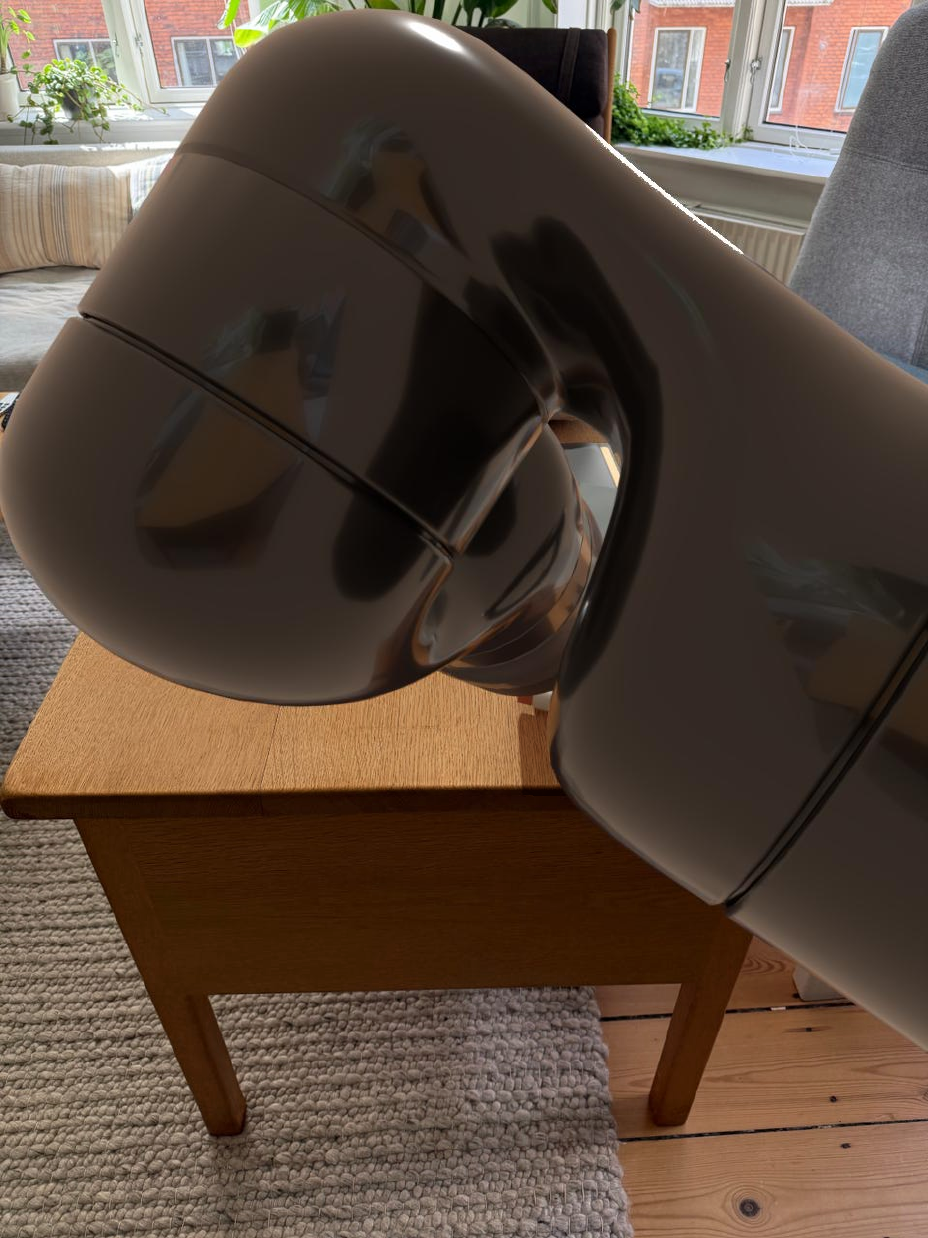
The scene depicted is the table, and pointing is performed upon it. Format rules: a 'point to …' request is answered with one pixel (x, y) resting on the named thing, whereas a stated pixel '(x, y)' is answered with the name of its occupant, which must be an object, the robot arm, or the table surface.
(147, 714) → the table surface
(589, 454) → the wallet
